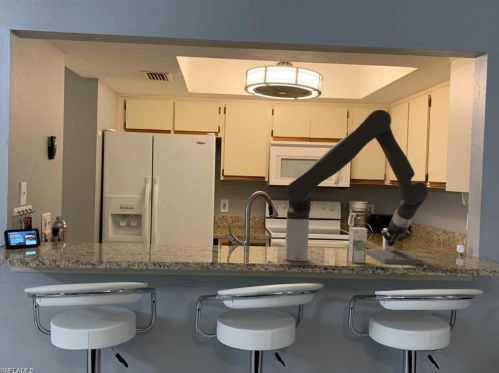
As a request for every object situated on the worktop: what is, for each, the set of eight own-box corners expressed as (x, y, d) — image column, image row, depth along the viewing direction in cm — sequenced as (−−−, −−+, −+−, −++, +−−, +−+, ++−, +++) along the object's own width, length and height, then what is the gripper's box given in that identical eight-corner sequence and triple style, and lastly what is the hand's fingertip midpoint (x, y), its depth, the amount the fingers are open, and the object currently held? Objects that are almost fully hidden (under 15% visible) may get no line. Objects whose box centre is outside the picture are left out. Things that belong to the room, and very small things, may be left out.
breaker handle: (384, 252, 184) (385, 228, 184) (381, 250, 187) (382, 227, 187) (394, 252, 184) (394, 229, 184) (391, 251, 188) (392, 228, 187)
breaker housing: (384, 263, 168) (384, 255, 168) (366, 253, 192) (366, 246, 192) (422, 264, 168) (422, 256, 168) (399, 254, 192) (399, 247, 192)
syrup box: (361, 261, 173) (362, 226, 173) (365, 263, 167) (367, 228, 167) (348, 260, 172) (349, 226, 172) (352, 263, 167) (353, 228, 166)
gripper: (414, 213, 174) (402, 238, 187) (384, 212, 174) (373, 237, 186) (419, 227, 169) (406, 252, 181) (388, 226, 169) (377, 251, 181)
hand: (389, 244), depth 184 cm, fingers closed
